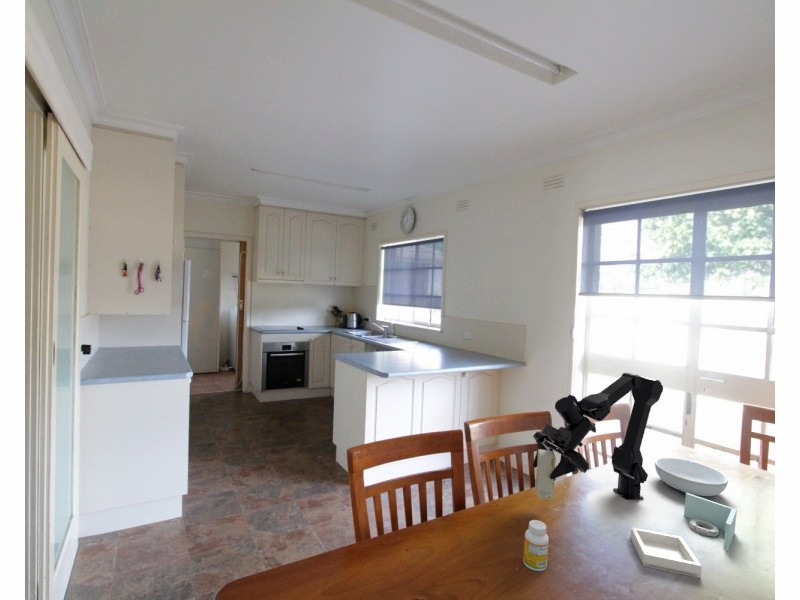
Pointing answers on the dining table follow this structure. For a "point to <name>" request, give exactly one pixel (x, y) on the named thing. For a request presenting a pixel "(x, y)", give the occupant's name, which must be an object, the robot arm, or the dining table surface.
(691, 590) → the dining table surface
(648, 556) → the holder tray
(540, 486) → the skincare box
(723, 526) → the right angle wall
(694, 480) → the serving bowl
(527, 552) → the supplement bottle
